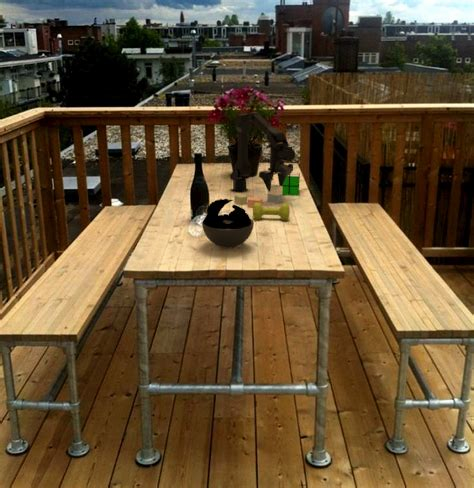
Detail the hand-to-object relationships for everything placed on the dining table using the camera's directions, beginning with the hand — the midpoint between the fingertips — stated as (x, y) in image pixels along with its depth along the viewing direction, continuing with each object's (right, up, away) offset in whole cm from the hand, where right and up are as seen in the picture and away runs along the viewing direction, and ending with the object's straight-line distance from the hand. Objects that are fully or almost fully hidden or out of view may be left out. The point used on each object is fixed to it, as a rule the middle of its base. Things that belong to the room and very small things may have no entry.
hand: (275, 189), depth 308 cm
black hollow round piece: (-22, -28, -60) cm, 70 cm away
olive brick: (-17, -7, -1) cm, 18 cm away
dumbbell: (-3, -16, -26) cm, 30 cm away
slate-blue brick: (0, -6, +2) cm, 6 cm away
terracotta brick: (-10, -9, -7) cm, 15 cm away
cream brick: (0, -2, +1) cm, 2 cm away
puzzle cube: (+8, -1, +18) cm, 20 cm away
